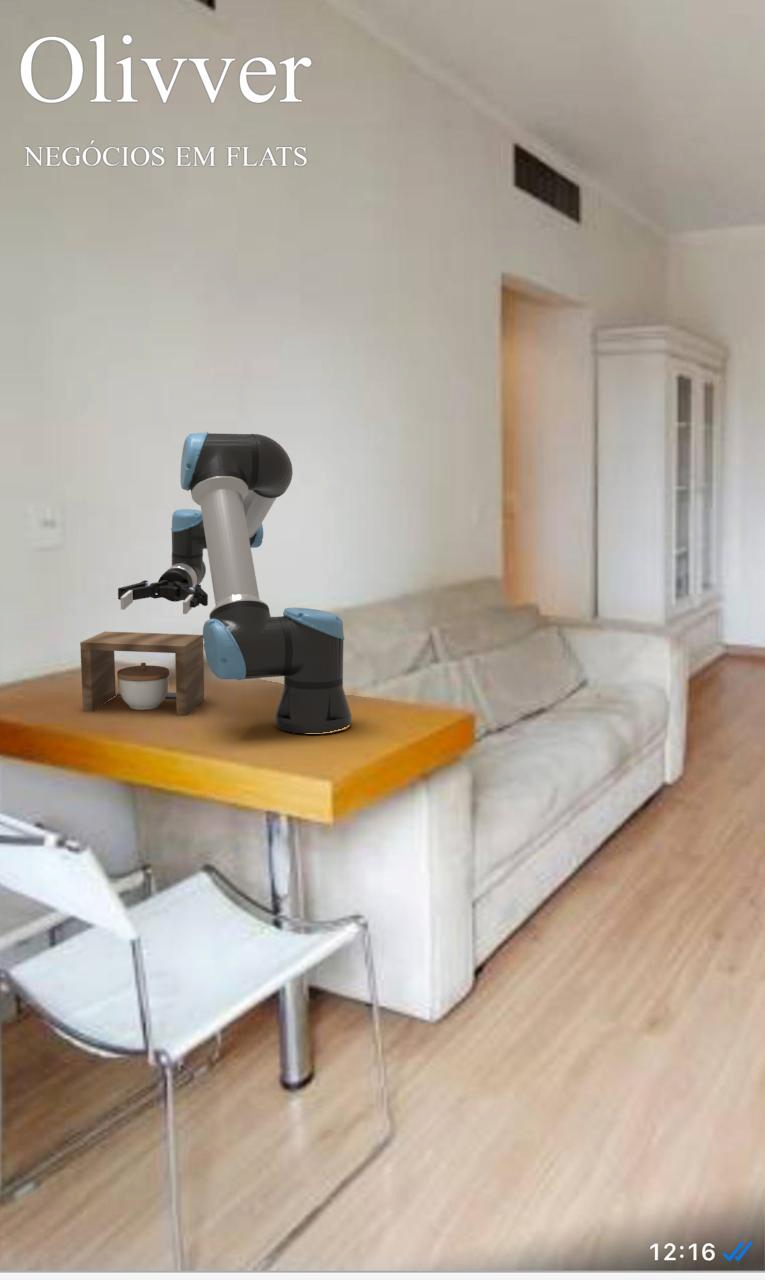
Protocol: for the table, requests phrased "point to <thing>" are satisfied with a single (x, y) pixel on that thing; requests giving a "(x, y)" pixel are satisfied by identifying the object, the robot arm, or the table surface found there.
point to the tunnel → (102, 646)
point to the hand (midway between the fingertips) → (153, 605)
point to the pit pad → (168, 696)
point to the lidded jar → (143, 686)
